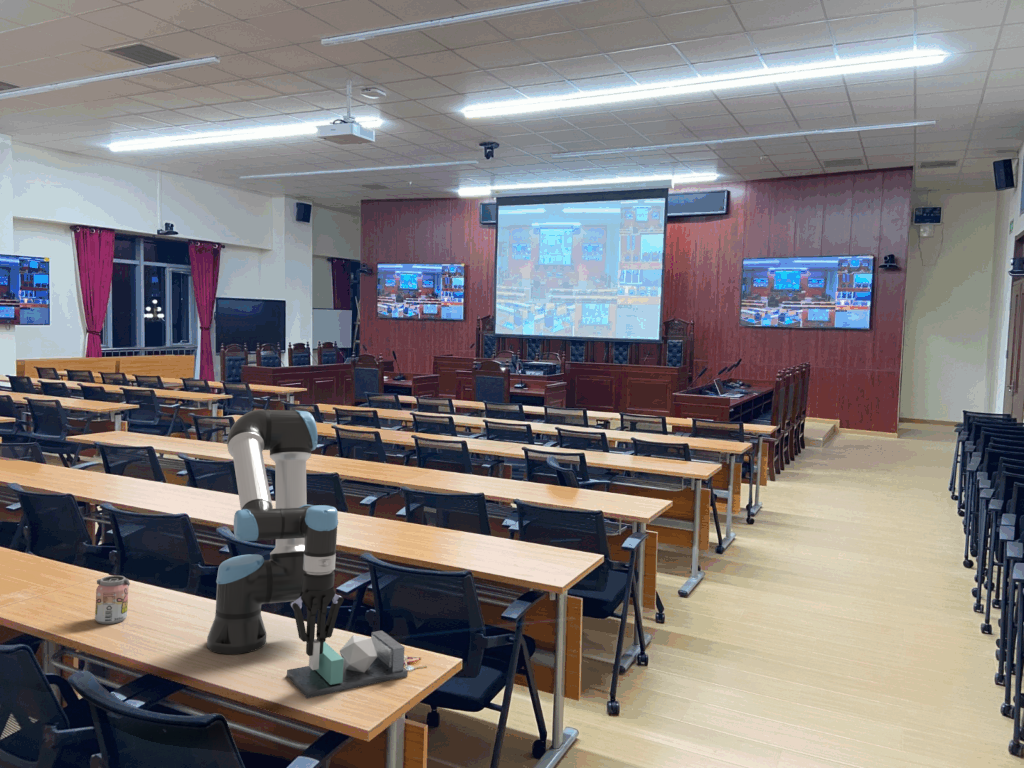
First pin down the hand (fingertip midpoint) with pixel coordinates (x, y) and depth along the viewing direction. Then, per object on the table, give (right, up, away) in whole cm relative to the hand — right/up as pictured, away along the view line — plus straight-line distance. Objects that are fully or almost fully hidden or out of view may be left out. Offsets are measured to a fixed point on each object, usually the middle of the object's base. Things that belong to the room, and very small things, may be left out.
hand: (313, 667), depth 179 cm
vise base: (+7, -4, +5) cm, 10 cm away
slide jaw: (+3, -2, +2) cm, 4 cm away
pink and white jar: (-68, 0, +34) cm, 76 cm away
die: (+9, -3, +7) cm, 12 cm away
